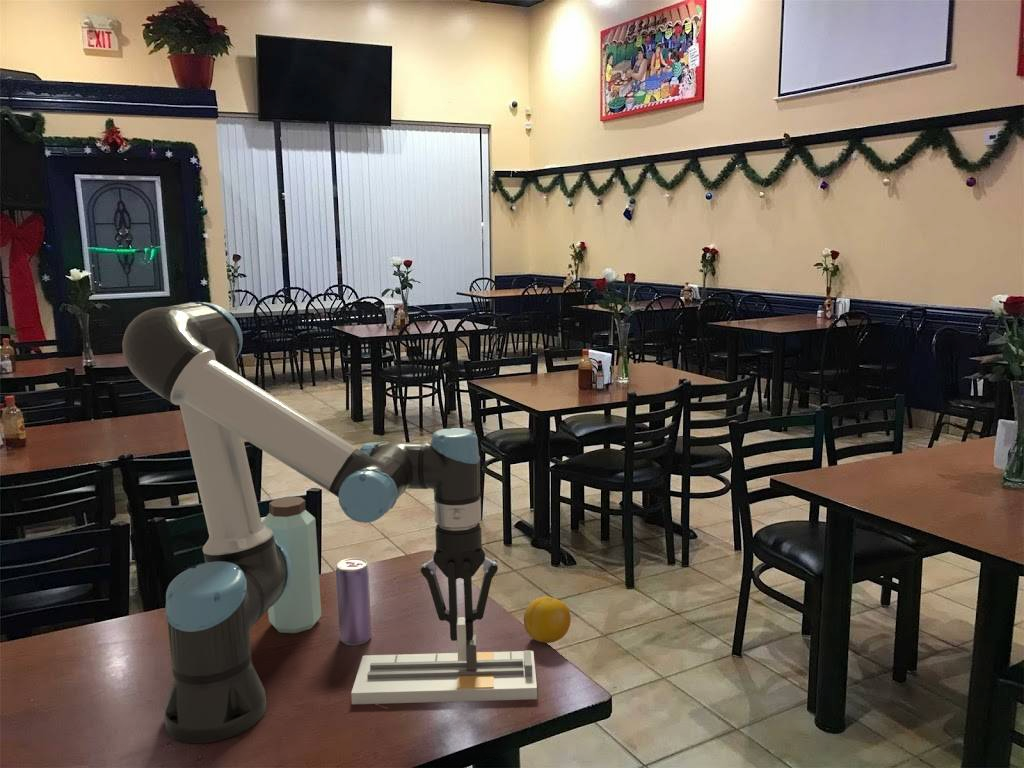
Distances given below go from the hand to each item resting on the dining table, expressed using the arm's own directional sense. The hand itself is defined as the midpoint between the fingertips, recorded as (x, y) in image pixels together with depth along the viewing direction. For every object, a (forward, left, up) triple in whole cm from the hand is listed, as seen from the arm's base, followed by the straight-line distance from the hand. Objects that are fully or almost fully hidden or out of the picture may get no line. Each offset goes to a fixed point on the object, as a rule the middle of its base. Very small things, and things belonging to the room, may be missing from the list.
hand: (462, 656), depth 136 cm
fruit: (+15, +14, -5) cm, 21 cm away
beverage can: (-21, +16, -5) cm, 27 cm away
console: (-3, 0, -5) cm, 5 cm away
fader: (+1, 0, -2) cm, 3 cm away
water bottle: (-34, +23, -5) cm, 41 cm away
